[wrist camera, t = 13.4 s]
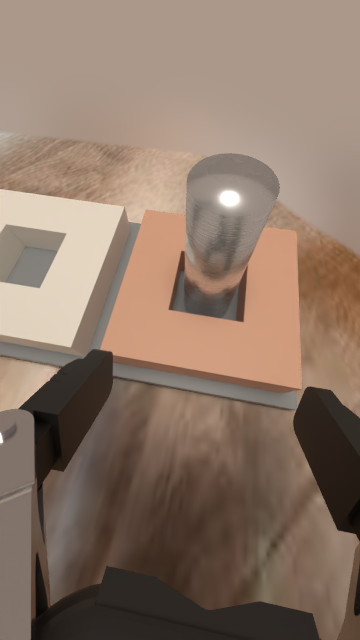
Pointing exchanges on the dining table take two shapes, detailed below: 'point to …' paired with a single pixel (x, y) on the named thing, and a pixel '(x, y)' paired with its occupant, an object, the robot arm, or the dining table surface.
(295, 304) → the dock board
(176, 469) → the dining table surface
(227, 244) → the steel pin
